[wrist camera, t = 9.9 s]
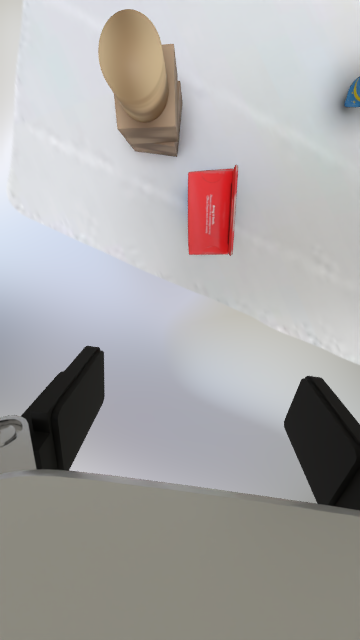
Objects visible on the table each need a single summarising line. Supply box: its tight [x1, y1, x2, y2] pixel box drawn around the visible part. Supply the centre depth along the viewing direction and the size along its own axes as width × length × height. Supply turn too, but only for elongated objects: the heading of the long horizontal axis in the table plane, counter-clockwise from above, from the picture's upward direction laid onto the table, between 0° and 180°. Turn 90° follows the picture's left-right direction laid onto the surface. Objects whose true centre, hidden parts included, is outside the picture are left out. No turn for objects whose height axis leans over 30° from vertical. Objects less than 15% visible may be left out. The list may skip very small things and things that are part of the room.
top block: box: [114, 44, 179, 144], centre depth 24 cm, size 6×6×5 cm
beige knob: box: [98, 9, 169, 123], centre depth 20 cm, size 5×5×5 cm
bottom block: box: [126, 81, 182, 157], centre depth 29 cm, size 6×6×5 cm
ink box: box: [188, 165, 238, 256], centre depth 29 cm, size 8×5×15 cm, turn 2°
